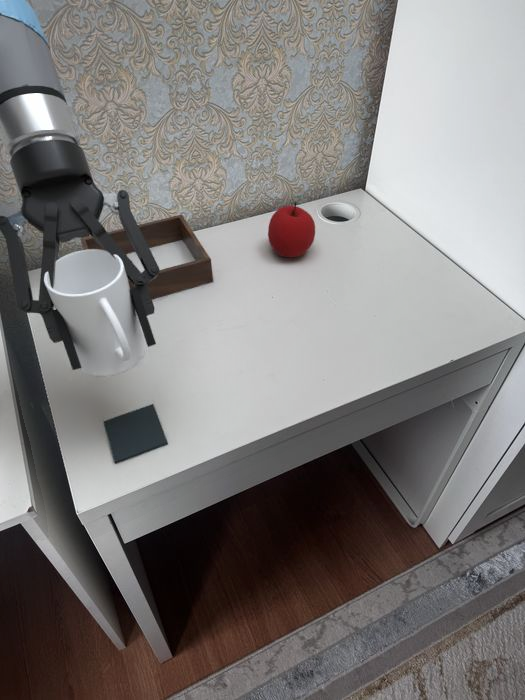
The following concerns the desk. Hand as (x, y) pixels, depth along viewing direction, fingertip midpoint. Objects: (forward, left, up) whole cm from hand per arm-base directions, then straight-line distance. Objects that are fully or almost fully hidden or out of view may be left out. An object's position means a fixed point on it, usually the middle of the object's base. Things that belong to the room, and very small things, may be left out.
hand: (115, 356), depth 53 cm
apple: (+23, +42, -16) cm, 51 cm away
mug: (-1, +3, -4) cm, 5 cm away
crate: (-4, +37, -16) cm, 40 cm away
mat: (-1, +1, -16) cm, 16 cm away
